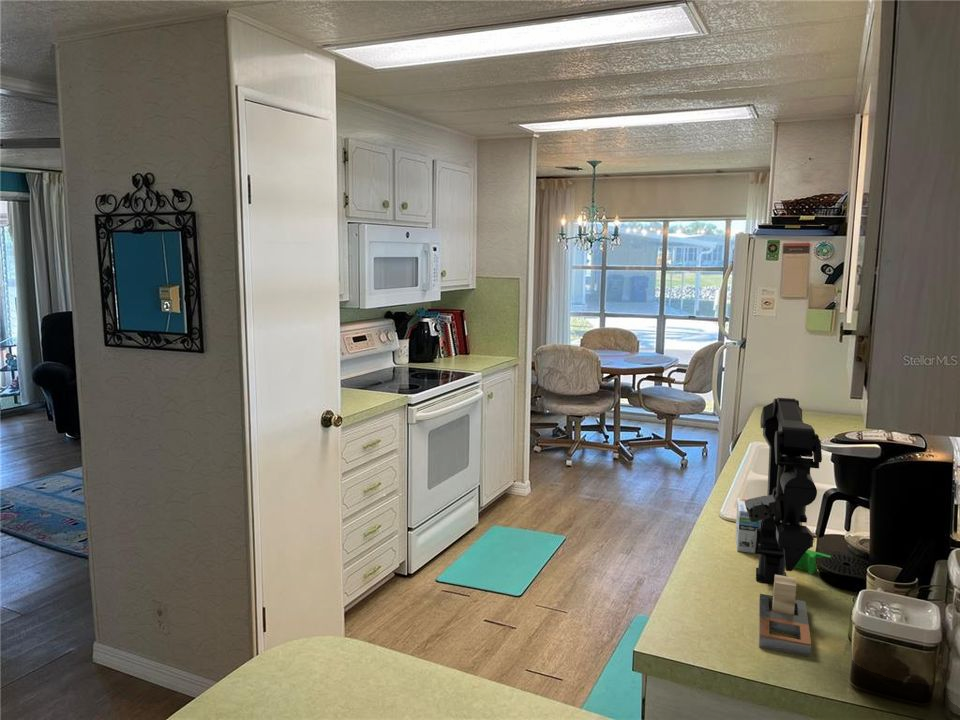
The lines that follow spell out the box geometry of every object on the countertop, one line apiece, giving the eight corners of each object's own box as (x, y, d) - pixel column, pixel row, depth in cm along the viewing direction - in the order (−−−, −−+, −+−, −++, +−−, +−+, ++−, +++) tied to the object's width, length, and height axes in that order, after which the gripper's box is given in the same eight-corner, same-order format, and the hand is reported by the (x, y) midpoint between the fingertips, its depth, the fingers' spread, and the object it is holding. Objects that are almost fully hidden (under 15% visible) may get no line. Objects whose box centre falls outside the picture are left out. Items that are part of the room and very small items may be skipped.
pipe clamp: (775, 565, 175) (777, 547, 174) (781, 560, 178) (782, 542, 177) (825, 579, 168) (826, 560, 167) (829, 573, 171) (831, 555, 170)
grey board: (759, 602, 156) (759, 592, 156) (804, 610, 153) (805, 600, 153) (759, 647, 139) (759, 636, 138) (810, 657, 136) (811, 646, 135)
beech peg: (771, 610, 153) (774, 574, 152) (792, 613, 152) (795, 577, 150) (772, 618, 149) (775, 582, 148) (793, 622, 148) (796, 586, 147)
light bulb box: (764, 555, 180) (768, 514, 179) (736, 551, 182) (739, 511, 180) (761, 538, 190) (764, 499, 189) (734, 535, 192) (736, 496, 191)
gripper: (745, 469, 156) (739, 537, 159) (753, 500, 138) (747, 576, 141) (800, 473, 153) (794, 543, 156) (817, 506, 135) (809, 584, 138)
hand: (785, 560), depth 148 cm, fingers open, 9 cm apart
